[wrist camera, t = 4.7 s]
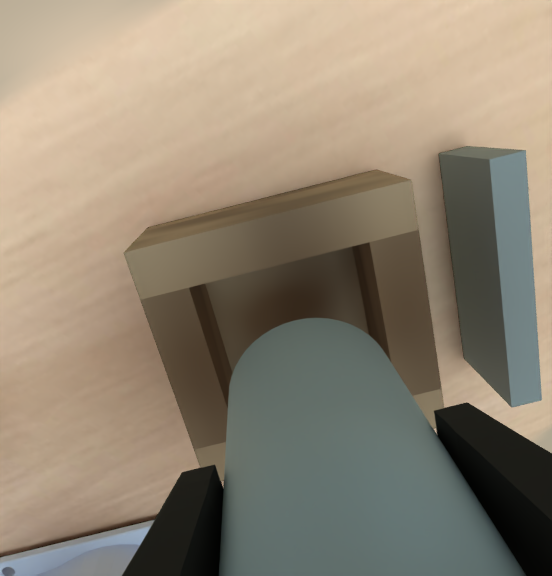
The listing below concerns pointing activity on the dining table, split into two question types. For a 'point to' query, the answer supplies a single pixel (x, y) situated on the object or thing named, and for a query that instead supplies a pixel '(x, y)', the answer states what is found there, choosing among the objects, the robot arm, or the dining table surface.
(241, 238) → the frame
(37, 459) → the dining table surface
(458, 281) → the backstop wall
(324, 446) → the dowel
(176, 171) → the dining table surface
